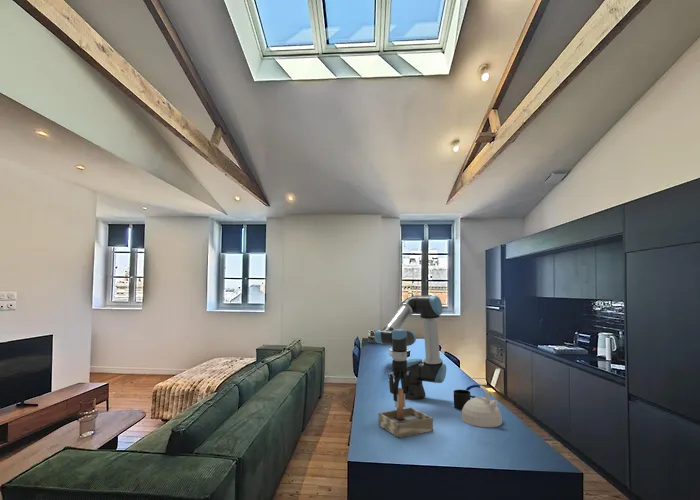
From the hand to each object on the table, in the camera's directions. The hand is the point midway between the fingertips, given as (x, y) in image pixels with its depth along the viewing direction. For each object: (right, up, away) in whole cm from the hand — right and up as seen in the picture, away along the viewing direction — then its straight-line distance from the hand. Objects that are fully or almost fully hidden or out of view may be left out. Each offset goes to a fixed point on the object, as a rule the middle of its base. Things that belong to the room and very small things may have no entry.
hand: (400, 406), depth 193 cm
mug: (+41, -12, +27) cm, 51 cm away
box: (+2, -9, -4) cm, 10 cm away
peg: (0, -5, -1) cm, 5 cm away
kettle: (+44, -10, +6) cm, 45 cm away
